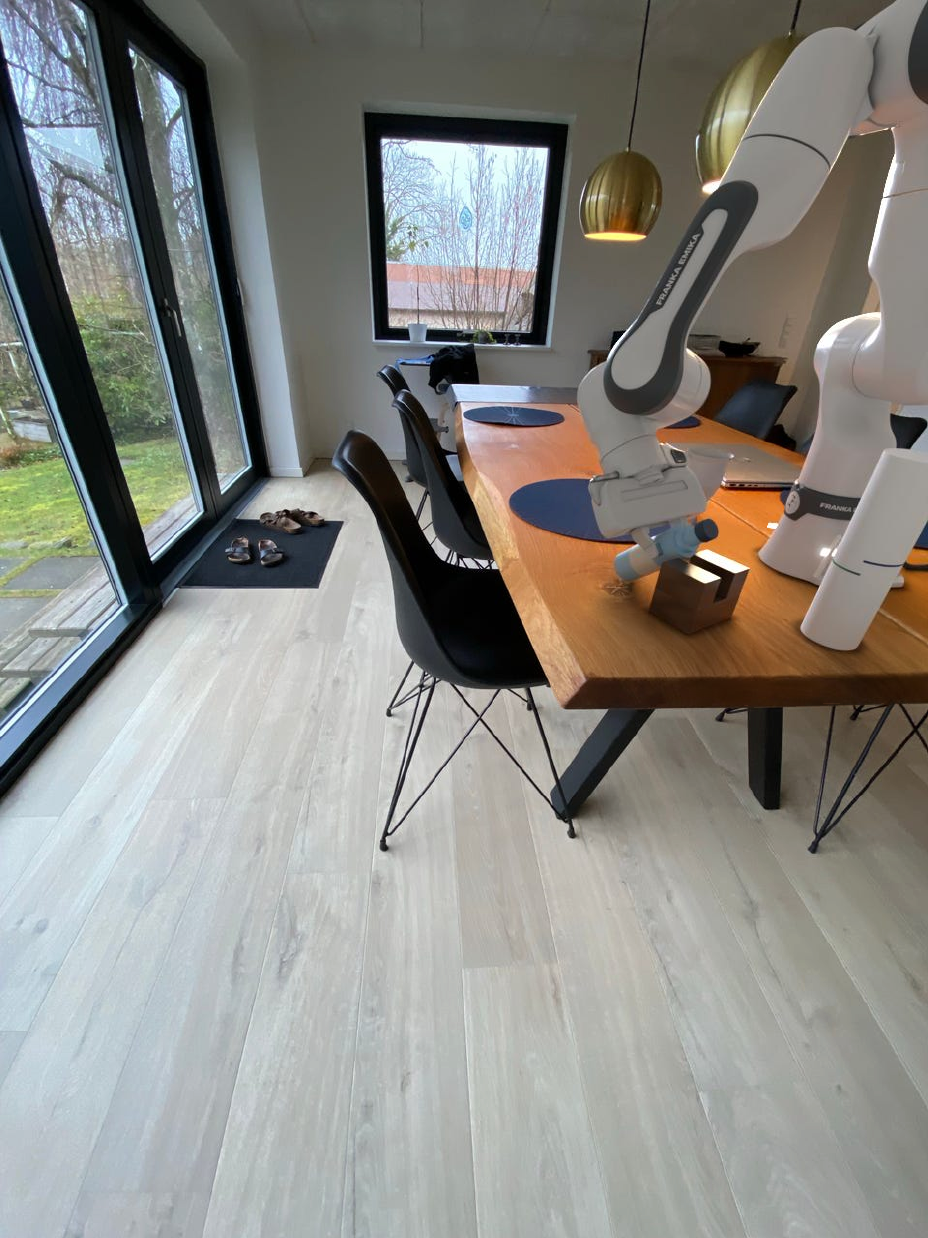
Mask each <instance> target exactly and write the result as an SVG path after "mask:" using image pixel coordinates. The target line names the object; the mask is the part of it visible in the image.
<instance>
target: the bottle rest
mask: <svg viewBox="0 0 928 1238" xmlns="http://www.w3.org/2000/svg"><path fill="white" fill-rule="evenodd" d="M750 569H751V568H750V567H747V566H745V565H743V564H741V563H738V562H736V561H735V560H732V559H729V558H728V557H725V556H723V555H721V554H718V553H716V552H713V551H712V550H709V549H704V550H701V551H696V553H695V554H694V555H693V556H692V557H691V558H689V562H688V561H686V560H682V559H680V558H676V559H673V560H669V561H666V562H662V565H661V569H660V571H658V572H659V573H658V576H657V580H656V584H655V586H654V587H655V588H654V590H653V594H652V598H651V601H650V605H649V609H648V612H649V613H650V614H652V615H654V616H655V617H657V618H659V619H660V620H662V621H664V622H666V623H667V624H668V625H671V626H672V627H674V628H676V629H678V630H679V631H681V632H683V633H684V634H685V635H691V634H693V633H695V632H698V631H701V630H702V629H706V628H708V627H711V626H714V625H715V624H718V623H720V622H723V621H726V620H728V619H731V618H732V616H733V615H734V611H735V609H736V606H737V603H738V602H739V599H740V596H741V594H742V591H743V588H744V585H745V582H746V580H747V577H748V575H749V572H750Z"/></svg>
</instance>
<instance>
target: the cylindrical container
mask: <svg viewBox="0 0 928 1238" xmlns="http://www.w3.org/2000/svg"><path fill="white" fill-rule="evenodd" d="M927 523H928V451H923V450H917V449H910V448H901V447H900V448H898V447H896V448H888V449H885V450H884V451H883V453H882V455H881V458H880V460H879V462H878V464H877V466H876V468H875V470H874V472H873V474H872V477H871V479H870V481H869V483H868V485H867V487H866V489H865V491H864V493H863V496H862V498H861V500H860V502H859V504H858V506H857V508H856V510H855V513H854V515H853V517H852V519H851V521H850V523H849V525H848V527H847V529H846V532H845V534H844V536H843V538H842V540H841V542H840V544H839V546H838V549H837V551H836V553H835V555H834V557H833V559H832V561H831V563H830V565H829V568H828V570H827V572H826V574H825V576H824V578H823V580H822V582H821V585H820V586H819V587H818V589H817V591H816V593H815V594H814V598H813V599H812V602H811V604H810V606H809V608H808V609H807V612H806V615H805V616H804V619H803V620H802V623H801V624H800V631H801V633H802V634H803V635H804V636H805V637H806V638H808V639H809V640H811V641H813V642H814V643H816V644H818V645H820V646H824V647H826V648H829V649H833V650H839V651H852V650H855V649H857V648H858V647H859V645H860V644H861V642H862V640H863V638H864V637H865V635H866V633H867V631H868V630H869V627H870V626H871V624H872V622H873V620H874V618H875V617H876V615H877V614H878V612H879V609H880V608H881V606H882V605H883V602H884V600H885V599H886V597H887V595H888V593H889V591H890V590H891V588H892V587H891V586H892V584H893V582H894V581H895V579H896V577H897V575H898V573H900V571H901V569H902V568H903V567H902V566H903V564H904V562H905V561H906V562H907V559H908V558H909V555H910V553H911V552H912V550H913V549H914V547H915V545H916V543H917V541H918V540H919V538H920V535H921V534H922V532H923V531H924V529H925V527H926V525H927Z"/></svg>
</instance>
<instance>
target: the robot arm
mask: <svg viewBox="0 0 928 1238" xmlns="http://www.w3.org/2000/svg"><path fill="white" fill-rule="evenodd" d="M888 129H891V131H892V135H893V139H894V157H893V159H892V163H891V165H890V169H889V171H888V176H887V179H886V183H885V187H884V191H883V195H882V199H881V203H880V207H879V213H878V217H877V222H876V225H875V230H874V235H873V239H872V244H871V248H870V252H869V256H868V261H867V270H868V274H869V276H870V278H871V279H872V281H873V282H874V284H875V285H876V289H877V292H878V298H879V308H880V309H879V310H880V312H870V313H865V314H861V315H856V316H853V317H849V318H845V319H843V320H841V321H839V322H837V323H836V324H834V325H833V326H831V327H830V328H829V329H828V330H827V331H826V332H825V333H824V334H823V336H822V337H821V338H820V340H819V342H818V344H817V346H816V348H815V350H814V354H813V368H814V372H815V374H816V376H817V379H818V383H819V385H818V386H819V399H818V400H819V401H818V413H817V421H816V427H815V432H814V435H813V440H812V442H811V445H810V447H809V450H808V453H807V455H806V458H805V461H804V463H803V466H802V469H801V471H800V474H799V476H798V478H797V479H795V480H794V482H793V483H792V486H791V488H790V491H789V493H788V495H787V499H786V501H785V504H784V507H783V513H782V515H781V517H780V519H779V521H778V522H777V523H774V522H773V523H771V522H769V523H768V525H767V528H769V529H774V530H773V531H772V533H771V534H770V536H769V538H768V539H767V541H766V542H765V543H764V545H763V546H762V547H761V549H759V551H758V553H757V555H758V556H757V557H758V558H759V560H761V561H762V562H763V563H764V564H765V565H767V566H768V567H770V568H771V569H774V570H776V571H778V572H780V573H782V574H785V575H786V576H787V575H788V576H790V577H793V578H797V579H800V580H803V581H806V582H810V583H811V584H813V585H816V586H819V587H820V585H821V582H822V580H823V578H824V576H825V574H826V572H827V570H828V568H829V565H830V563H831V561H832V559H833V557H834V555H835V553H836V551H837V549H838V546H839V544H840V542H841V540H842V538H843V536H844V534H845V532H846V529H847V527H848V525H849V523H850V521H851V519H852V517H853V515H854V513H855V510H856V508H857V506H858V504H859V502H860V500H861V498H862V496H863V493H864V491H865V489H866V487H867V485H868V483H869V481H870V479H871V477H872V474H873V472H874V470H875V468H876V466H877V464H878V462H879V460H880V458H881V455H882V453H883V451H884V450H885V449H888V448H897V445H898V444H897V438H896V436H895V433H894V432H893V429H892V424H891V408H892V403H894V404H897V405H900V406H901V405H902V406H928V0H895V1H894V2H893V3H892V4H890V5H888V6H887V7H886V8H883V10H881V11H880V12H878V13H877V14H875V15H874V16H873V17H871V18H870V19H869V20H867V21H865V22H863V23H860V24H859V25H857V26H855V27H854V28H853V29H852V28H850V27H849V28H848V27H844V26H835V27H827V28H823V29H821V30H818V31H816V32H813V33H812V34H810V35H808V36H807V37H806V38H805V39H803V40H802V41H801V42H800V43H798V45H797V46H796V47H795V48H794V50H792V52H791V53H790V55H789V56H788V58H787V59H786V60H785V62H784V64H783V65H782V66H781V68H780V70H779V71H778V73H777V74H776V76H775V78H774V79H773V81H772V82H771V84H770V86H769V87H768V89H767V91H766V92H765V94H764V96H763V98H762V99H761V100H760V103H759V105H758V106H757V108H756V110H755V112H754V114H753V115H752V118H751V120H750V121H749V123H748V125H747V127H746V129H745V132H744V133H743V135H742V137H741V139H740V142H739V143H738V146H737V147H736V150H735V152H734V154H733V156H732V158H731V160H730V162H729V164H728V166H727V169H725V170H726V171H725V172H724V174H723V176H722V177H721V179H720V181H719V183H718V185H717V186H716V188H715V189H714V190H713V192H712V193H711V194H710V195H709V196H708V197H707V198H706V199H705V201H704V203H703V204H702V205H701V206H700V208H699V209H698V211H697V212H696V213H695V216H694V217H693V219H692V221H691V222H690V224H689V225H688V227H687V229H686V231H685V232H684V235H683V236H682V238H681V240H680V241H679V242H678V243H679V244H678V245H677V247H676V249H675V251H674V252H673V254H672V256H671V258H670V260H669V261H668V264H666V266H665V269H664V271H663V273H662V274H661V276H660V278H659V280H658V281H657V283H656V285H655V287H654V289H653V291H652V292H651V294H650V297H649V298H648V300H647V302H646V304H645V305H644V307H643V309H642V310H641V312H640V314H639V315H638V316H637V318H636V319H635V321H634V322H633V323H632V324H631V326H630V327H628V329H626V331H625V332H624V333H623V335H622V336H621V337H620V338H619V339H618V340H617V342H616V343H615V344H614V345H613V347H612V349H611V350H610V352H609V353H608V356H607V358H606V360H605V361H603V362H601V363H599V364H597V365H596V366H595V367H593V368H592V369H590V371H588V372H587V374H586V375H585V376H584V377H583V379H582V380H581V382H580V383H579V386H578V388H577V394H576V402H577V406H578V410H579V415H580V417H581V421H582V424H583V426H584V429H585V432H586V434H587V437H588V439H589V441H590V442H591V444H592V445H593V446H594V447H595V449H596V451H597V455H598V463H599V466H600V468H601V470H602V473H603V474H595V475H593V476H592V477H591V479H590V480H589V482H588V485H587V490H588V493H589V494H590V497H591V506H592V510H593V514H594V517H595V521H596V524H597V527H598V530H599V532H600V534H601V535H602V536H603V537H604V538H606V539H607V540H610V539H614V538H618V537H622V536H627V535H631V537H632V540H633V541H634V542H635V543H636V545H637V544H638V545H639V546H640V547H641V548H642V549H644V550H645V553H646V555H647V558H648V559H650V560H651V559H654V558H657V557H659V556H661V555H663V550H662V549H661V545H660V543H657V544H656V543H655V542H654V541H653V540H652V538H651V537H652V536H650V535H649V534H650V533H651V532H650V530H651V529H655V528H660V527H664V526H666V525H669V527H670V528H672V527H674V526H676V525H678V524H682V525H685V526H689V523H688V520H689V519H692V518H694V517H696V518H697V517H698V516H700V515H701V514H703V513H705V512H706V511H707V507H708V506H707V505H708V502H707V501H706V498H705V495H704V492H703V490H702V487H701V485H700V483H699V481H698V479H697V477H696V475H695V473H694V472H693V470H691V469H690V468H689V467H686V466H687V465H688V464H689V463H690V458H689V456H688V452H687V451H685V450H681V449H678V448H675V447H672V446H669V445H666V444H664V443H660V441H659V439H658V437H657V434H656V433H657V431H658V430H659V431H660V430H662V429H665V428H668V427H671V426H673V425H675V424H677V423H680V422H682V421H685V420H687V419H688V418H690V417H692V416H693V415H695V414H696V413H697V412H698V411H699V410H700V409H702V407H703V406H704V404H705V402H706V400H707V399H708V397H709V394H710V391H711V387H712V375H711V374H712V373H711V371H710V368H709V366H708V365H707V363H706V362H705V360H704V359H702V358H701V357H700V356H698V354H696V353H695V352H694V351H692V350H691V349H689V348H688V340H689V335H690V333H691V330H692V328H693V327H694V325H695V323H696V321H697V320H698V318H699V316H700V315H701V312H702V311H703V309H704V308H705V306H706V304H707V302H708V300H709V299H710V297H711V295H712V294H713V292H714V290H715V289H716V287H717V285H718V283H719V282H720V281H721V278H722V276H723V275H724V273H725V272H726V270H728V268H729V266H730V265H731V264H732V263H733V262H734V260H736V259H737V258H738V257H739V256H741V255H742V254H744V253H746V252H753V251H755V252H756V251H759V250H763V249H767V248H769V247H771V246H774V245H776V244H778V243H780V242H781V241H783V240H785V239H786V238H787V237H789V236H790V235H791V234H792V232H794V230H795V229H796V228H797V226H798V225H799V224H800V222H801V220H802V219H803V218H804V216H806V214H807V213H808V211H809V210H810V208H811V207H812V205H813V204H814V202H815V200H816V199H817V196H818V195H819V193H820V191H821V189H822V188H823V186H824V185H825V182H826V180H827V179H828V177H829V175H830V173H831V171H832V169H833V168H834V165H835V163H836V162H837V160H838V158H839V156H840V153H841V152H842V149H843V148H844V145H845V143H846V141H849V140H854V139H857V138H860V137H861V136H863V135H867V134H871V133H876V132H880V131H883V130H884V131H885V130H888ZM902 568H904V569H907V570H917V571H918V570H919V571H921V570H922V571H923V570H928V563H925V564H923V563H922V564H912V563H909V562H907V560H906V561H905V562H904V564H903V566H902ZM904 584H905V579H904V576H903V575H902V574H901V573H900V572H899V573H898V575H897V577H896V579H895V581H894V582H893V584H892V586H891V588H902V587H903V586H904Z"/></svg>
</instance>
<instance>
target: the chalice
mask: <svg viewBox="0 0 928 1238" xmlns="http://www.w3.org/2000/svg"><path fill="white" fill-rule="evenodd" d="M686 453H687V454H688V456H689V458H690V463H689V464H688V465H687V466H685V467H689V468H690V469H691V470H693V472H694V473H695V475H696V477H697V479H698V481H699V483H700V485H701V487H702V490H703V492H704V495H705V498H706V501H707V503H708V502H709V501H710V500H711V498H712V497H713V496H715V494H716V492H717V491H718V490H719V488H721V486H722V483H723V480H724V476H725V474H726V470H727V468H728V465H729V463H730V462H731V461H732V459H733V458H734V454H733V453H731V452H728V451H725V450H722V449H717V448H711V447H699V446H697V447H688V448H687V449H686ZM696 519H697V516H696V517H694V518H692V519H689V520H688V523H689V526H691V527H693V522H694V521H695V520H696ZM689 559H691V557H690V558H689Z"/></svg>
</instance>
